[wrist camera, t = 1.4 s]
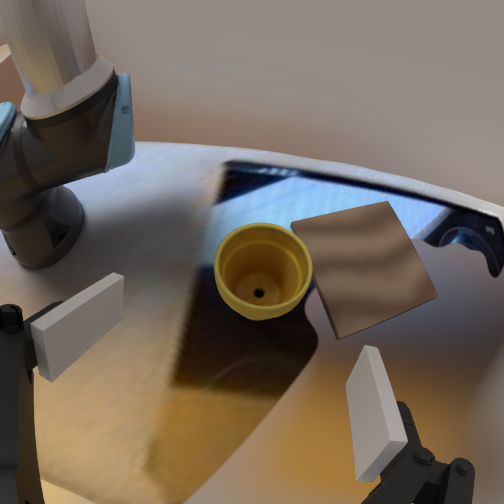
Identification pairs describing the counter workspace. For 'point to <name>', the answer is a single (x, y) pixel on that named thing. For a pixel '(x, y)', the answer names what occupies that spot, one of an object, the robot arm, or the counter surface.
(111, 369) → the counter surface
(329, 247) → the walnut board
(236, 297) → the plant pot
